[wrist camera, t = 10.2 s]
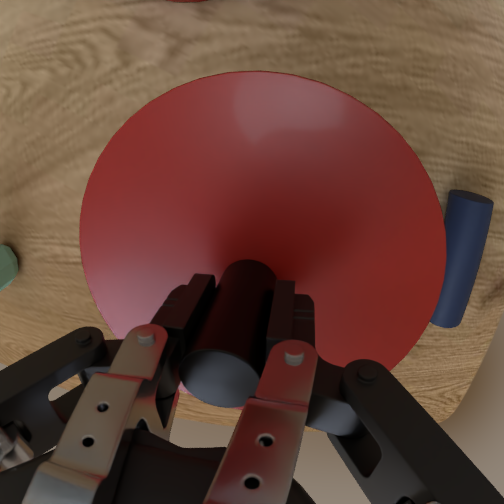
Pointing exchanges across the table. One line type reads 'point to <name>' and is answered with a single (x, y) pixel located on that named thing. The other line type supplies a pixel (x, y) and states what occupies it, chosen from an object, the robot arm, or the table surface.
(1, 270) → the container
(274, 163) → the pot lid
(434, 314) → the tube
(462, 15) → the table surface
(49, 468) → the robot arm
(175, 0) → the pot
